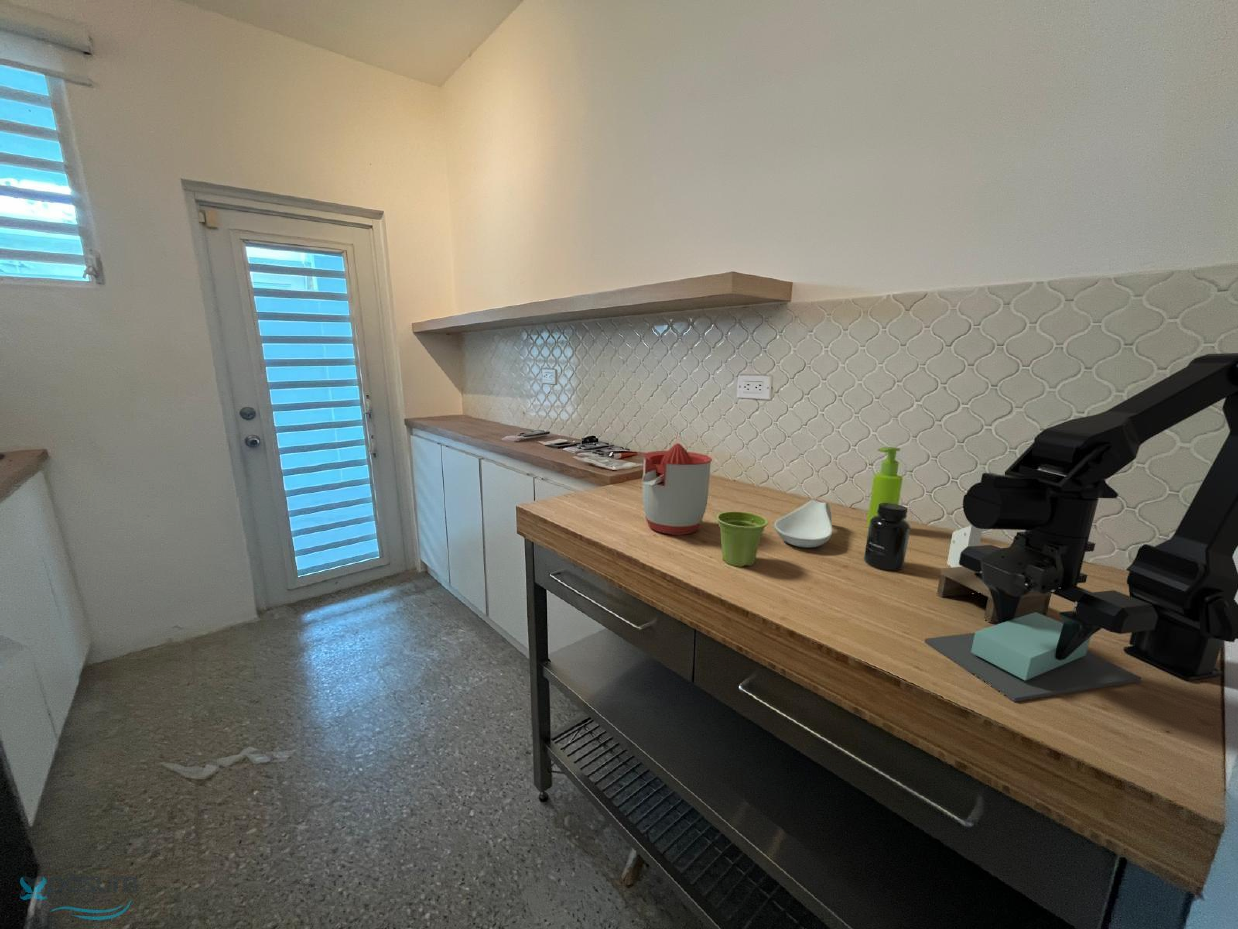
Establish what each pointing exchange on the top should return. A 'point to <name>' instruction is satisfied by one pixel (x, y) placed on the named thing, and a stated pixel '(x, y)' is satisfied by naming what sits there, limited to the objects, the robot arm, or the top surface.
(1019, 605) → the sleeve box
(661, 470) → the citrus juicer
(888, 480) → the soap dispenser
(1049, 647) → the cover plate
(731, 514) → the plant pot
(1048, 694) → the rubber mat
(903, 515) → the supplement bottle
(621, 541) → the top surface
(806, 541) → the spoon rest
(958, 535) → the white wedge bracket
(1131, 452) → the robot arm
